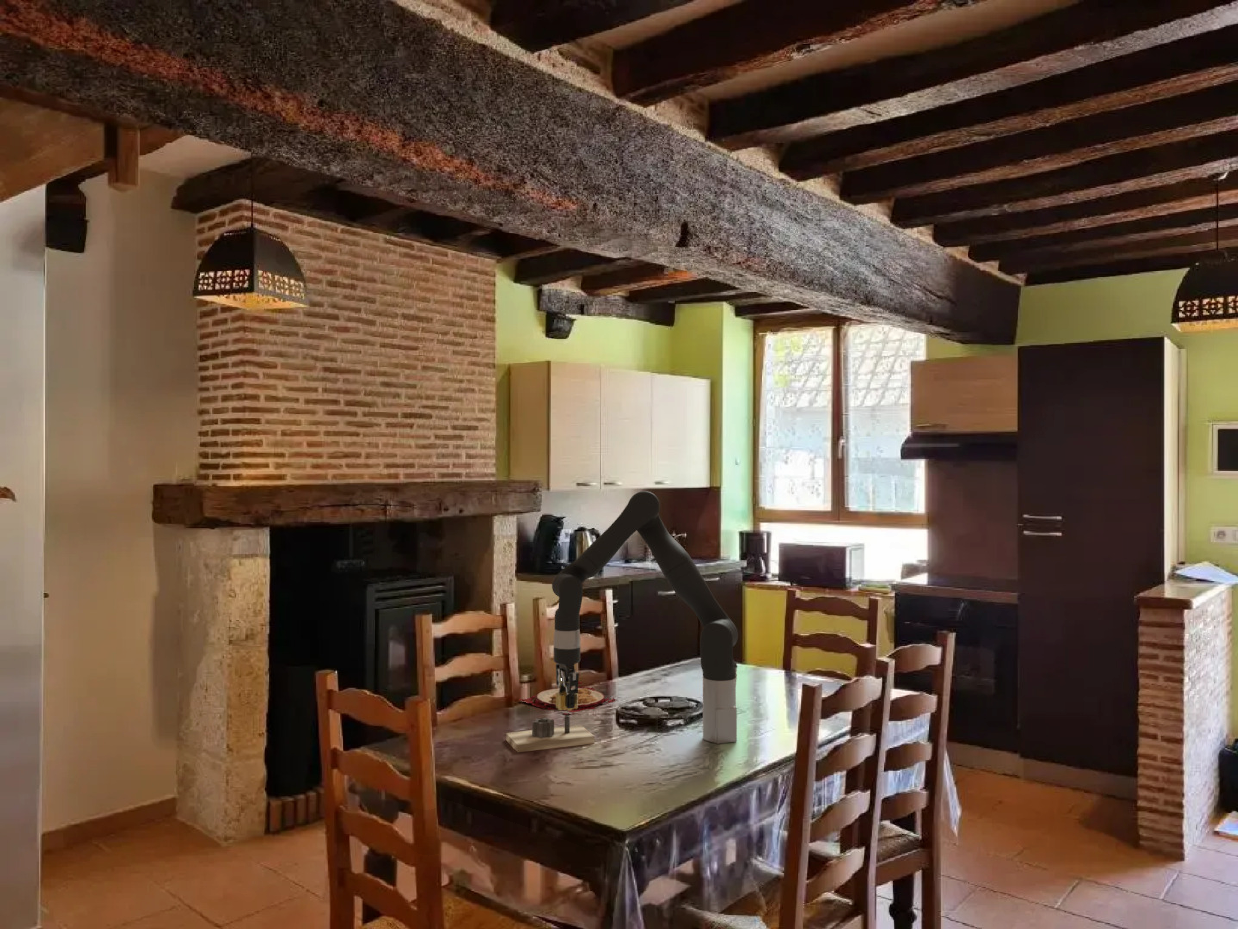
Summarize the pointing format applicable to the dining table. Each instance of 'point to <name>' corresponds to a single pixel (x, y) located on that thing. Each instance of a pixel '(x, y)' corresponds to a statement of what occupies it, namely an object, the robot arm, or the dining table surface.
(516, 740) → the gear board
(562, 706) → the brass gear
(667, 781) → the dining table surface
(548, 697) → the plate with food
